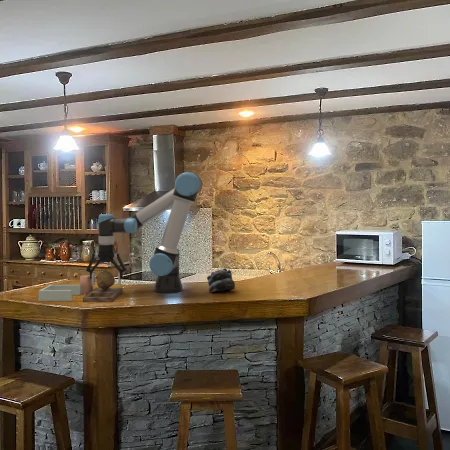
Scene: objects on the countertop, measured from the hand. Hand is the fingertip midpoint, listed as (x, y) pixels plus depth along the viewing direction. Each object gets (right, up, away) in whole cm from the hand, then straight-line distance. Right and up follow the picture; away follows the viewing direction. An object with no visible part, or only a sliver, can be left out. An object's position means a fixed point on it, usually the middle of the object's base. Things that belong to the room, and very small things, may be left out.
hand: (106, 285), depth 247 cm
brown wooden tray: (0, -5, -6) cm, 8 cm away
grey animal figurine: (+59, -5, +9) cm, 60 cm away
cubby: (-20, -5, -9) cm, 23 cm away
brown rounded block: (-11, -4, +3) cm, 12 cm away
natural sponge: (0, -3, 0) cm, 3 cm away
